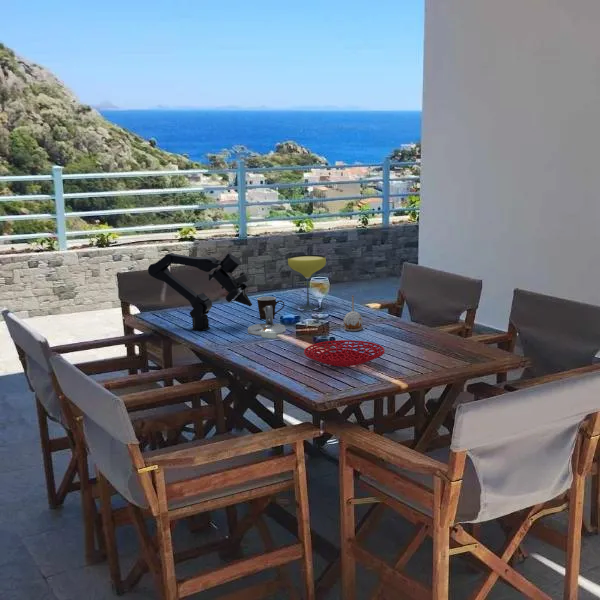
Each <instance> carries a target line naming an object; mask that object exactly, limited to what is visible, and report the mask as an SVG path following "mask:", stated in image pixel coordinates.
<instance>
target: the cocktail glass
mask: <svg viewBox="0 0 600 600" xmlns="http://www.w3.org/2000/svg"><path fill="white" fill-rule="evenodd" d="M326 259H327V258H326V256H324V255H322V254H321V255H319V254H300V255H293V256H289V257H288V258H287V265H288V267H289V268H290V269H291V270H293V271H294V272H297V273H300V274H301V275H302V276H303V277H304V278H305V279H306V305H302V306H299V308H300V309H304V310H310V309H315V308H316V305H311V304H310V295H309V294H310V293H309V279H310V278H311V276H312V275H313V274H315V273H316V272H318V271H320V270H321V269H323V268H324V267H325V266H326V265H327V264H326V263H327V260H326Z"/></svg>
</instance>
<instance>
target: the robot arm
mask: <svg viewBox="0 0 600 600" xmlns="http://www.w3.org/2000/svg"><path fill="white" fill-rule="evenodd" d="M172 264H176V265H181V266H187V267H194V268H196V269H198V270H199V271H202V272H206V273H208V281H212V280H213V279H214V280H215V281H216V282H217V283H218V284H219V285H220V286H221V289H222V290H225V291H226V292H227V293H228V294H227V295H226V296H225V301H226V302H227V303H230V302H232V301H233V302H237V303H240V304H243V305H245V306H246V307H247V306H248V307H252V306H253V303H252V302H251V300H250V298H249V296H248V295H247V288H248V286H249V284H248V283H247V282H248V281H251V280H250V277H249V276H250V275H249V273H247V272H245V271H243V272H242V271H241V272H240V273H239V276H237V277H235V276H231V275H230V274H232V273H233V272H234V271H235V270H236V269H238V267H239V266H240V265H241V261H240V259H239V258H238V257H236V256H235V255H233V254H231V253H230V252H229V253H227V254H226V255H225V256H224V258H223V259H222V260H221V259H217V257H214V256H202V257H196V256H191V255H190V256H189V255H183V254H178V253H173V252H169V253H166V254H165V255H164V256H163V257H162V258H160V259H159V260H158V261H156V262H154V263H151V264H150V265H149V266H148V268H147V273H148V275H149V276H150V277H152V278H154V279H155V280H158V281H161V282H164V283H165V284H167V286H169V287H170V288H172V290H174V291H175V292H177V293H178V294H179V295H180V296H181V297H183V298H185V300H187V302H189V304H190V305H191V307H192V309H191V310H190V312H189V316H190V317H191V322H192V327H191V328H190V330H191V329H193V330H192V331H197V330H198V332H199V331H200V332H203V331H206V330H209V329H211V326H210V325H209V324H210V323H209V317H208V316H209V315H208V314H209V312H210V310H211V309H212V307H213V301H212V300H211V299H210V298H211V297H210V296H207V295H206V294H205V293H204V292H201V293H196V292H195V291H194V290H193V289H191V288H190V287H189V286H188V285H187V284H186V283H183V282H182V281H181V280H180V279H178V278H177V277H176V276H175V275H173V274H172V272H171V271H170V269H169V267H170V266H171V265H172ZM209 272H211V273H209Z"/></svg>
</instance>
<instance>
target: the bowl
mask: <svg viewBox="0 0 600 600" xmlns="http://www.w3.org/2000/svg"><path fill="white" fill-rule="evenodd" d="M323 347H324V348H323ZM331 347H333V348H331ZM354 349H356V350H354ZM333 351H334V352H333ZM385 352H386V351H385V348H384V347H383V346H382V345H380V344H377V343H374V342H371V341H365V340H364V341H363V340H354V339H353V340H350V339H342V340H338V339H337V340H329V341H322V342H318V343H313V344H311V345H309V346H307V347H305V349H304V351H303V355H305V356H306V358H309V359H311V360H314V361H316V362H319V363H322V364H326V365H330V366H333V367H341V368H342V367H343V368H344V367H353V366H359V365H361V364H364V363H368V362H370V361H372V360H375V359H377V358H380V357H382V356H383V355H384V354H385Z"/></svg>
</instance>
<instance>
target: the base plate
mask: <svg viewBox="0 0 600 600" xmlns="http://www.w3.org/2000/svg"><path fill="white" fill-rule="evenodd" d="M261 334H262V336H261V338H265V339H277V335H276V332H271V331H270V330H267V331H262V332H261ZM249 335H251V334H249V333H248V334H244V335H243V336H249Z"/></svg>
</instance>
